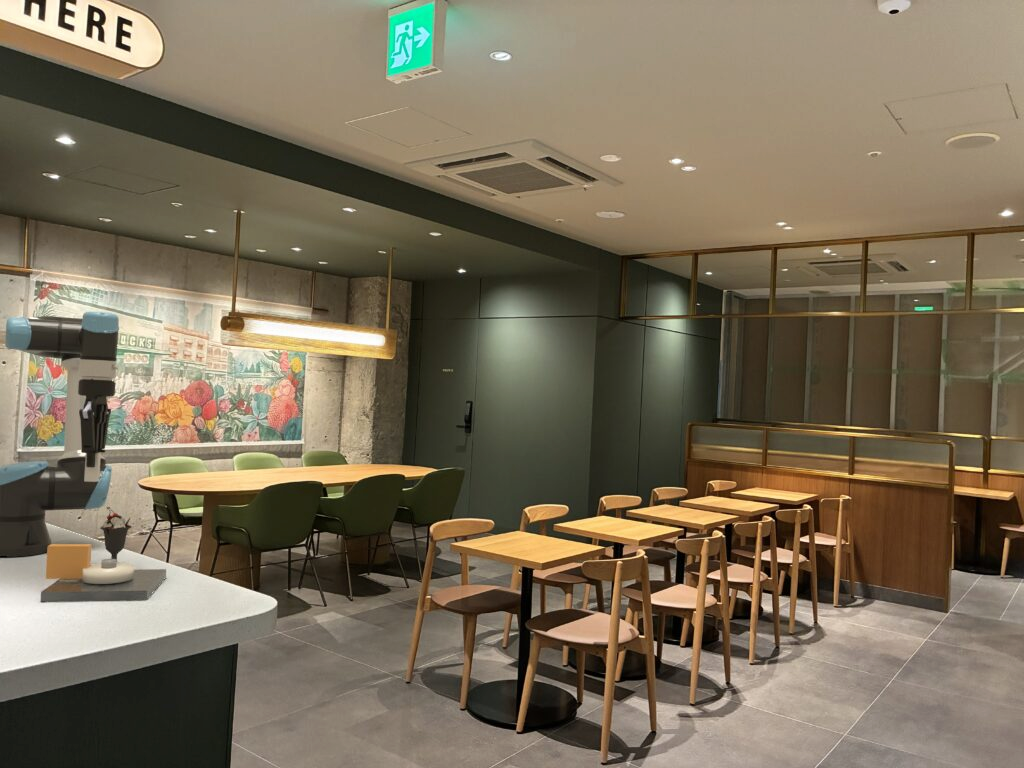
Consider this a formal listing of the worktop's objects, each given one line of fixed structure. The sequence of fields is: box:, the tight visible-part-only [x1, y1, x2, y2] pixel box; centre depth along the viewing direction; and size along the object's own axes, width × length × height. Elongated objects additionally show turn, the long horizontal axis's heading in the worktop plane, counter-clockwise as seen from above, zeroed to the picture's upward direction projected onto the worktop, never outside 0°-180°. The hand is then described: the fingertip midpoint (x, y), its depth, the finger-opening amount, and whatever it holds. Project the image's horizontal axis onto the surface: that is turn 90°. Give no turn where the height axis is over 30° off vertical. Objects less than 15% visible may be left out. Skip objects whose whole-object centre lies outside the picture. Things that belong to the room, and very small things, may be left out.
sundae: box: [100, 506, 132, 560], centre depth 189 cm, size 7×7×15 cm
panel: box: [40, 568, 167, 603], centre depth 169 cm, size 20×20×2 cm
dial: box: [45, 543, 135, 584], centre depth 168 cm, size 17×10×7 cm, turn 103°
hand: (91, 481), depth 178 cm, fingers closed
